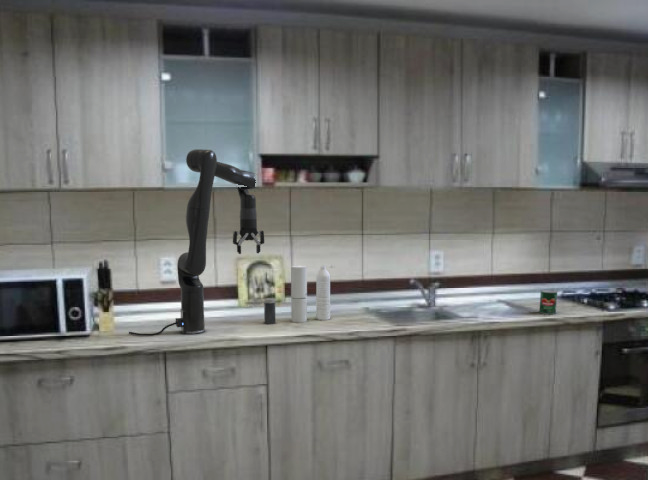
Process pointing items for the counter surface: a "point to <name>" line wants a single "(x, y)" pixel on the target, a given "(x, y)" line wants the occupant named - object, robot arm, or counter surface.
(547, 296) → the canned tomato
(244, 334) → the counter surface
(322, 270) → the water bottle
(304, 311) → the cylindrical container
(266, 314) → the salt shaker
